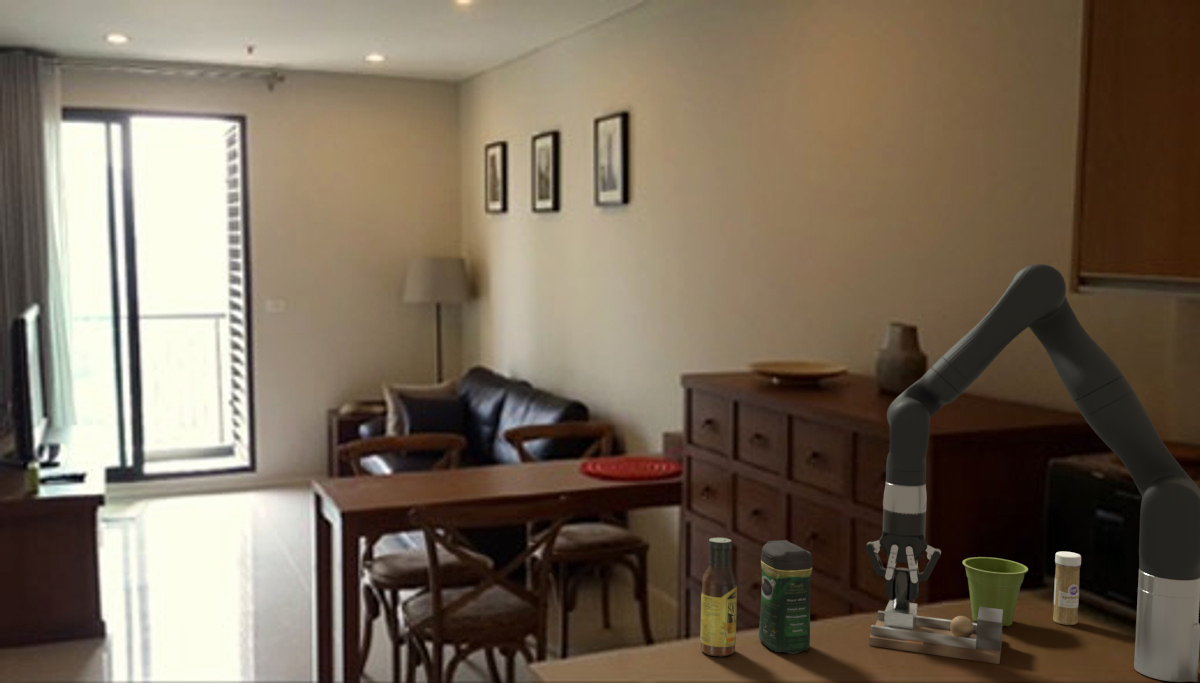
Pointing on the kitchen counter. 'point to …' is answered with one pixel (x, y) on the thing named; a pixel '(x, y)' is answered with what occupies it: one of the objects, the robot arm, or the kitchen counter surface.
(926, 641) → the board
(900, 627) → the sliding jaw
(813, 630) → the kitchen counter surface
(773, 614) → the coffee jar
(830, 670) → the kitchen counter surface
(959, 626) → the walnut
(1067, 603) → the sprinkles bottle
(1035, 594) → the kitchen counter surface
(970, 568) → the plant pot
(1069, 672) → the kitchen counter surface
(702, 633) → the sauce bottle
